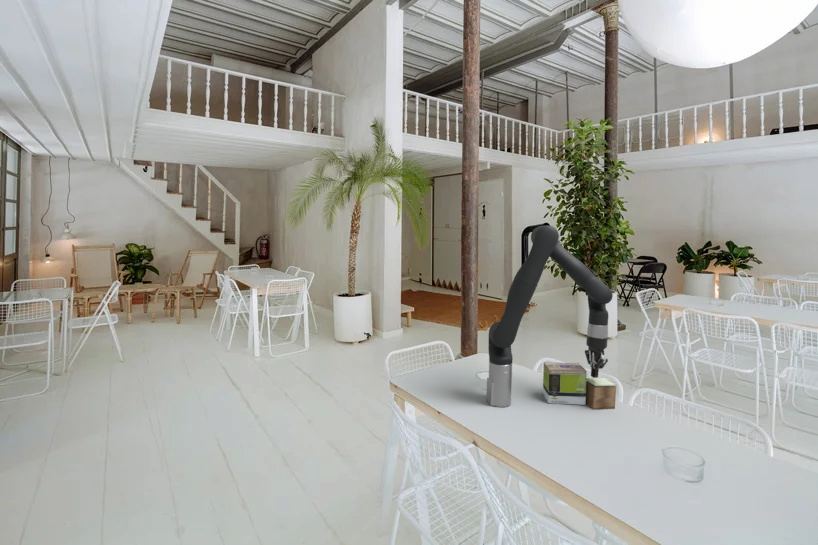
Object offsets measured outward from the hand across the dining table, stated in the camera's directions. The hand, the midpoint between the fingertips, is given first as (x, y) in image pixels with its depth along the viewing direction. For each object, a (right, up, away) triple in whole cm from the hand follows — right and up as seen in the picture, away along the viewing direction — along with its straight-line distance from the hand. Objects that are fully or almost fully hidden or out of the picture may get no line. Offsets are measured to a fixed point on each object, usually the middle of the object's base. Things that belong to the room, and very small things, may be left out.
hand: (594, 377), depth 164 cm
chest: (+3, -12, +2) cm, 12 cm away
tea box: (-10, -12, +7) cm, 17 cm away
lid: (+3, -2, +1) cm, 4 cm away
